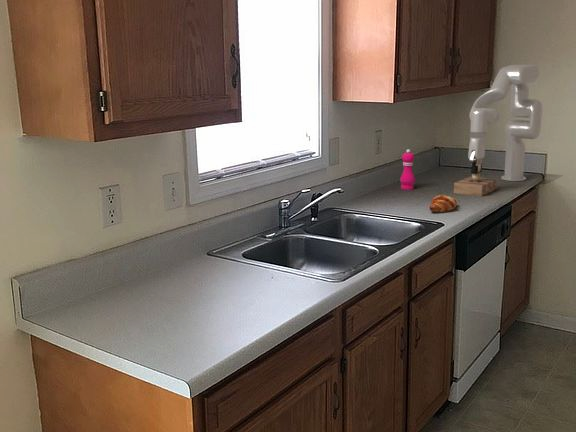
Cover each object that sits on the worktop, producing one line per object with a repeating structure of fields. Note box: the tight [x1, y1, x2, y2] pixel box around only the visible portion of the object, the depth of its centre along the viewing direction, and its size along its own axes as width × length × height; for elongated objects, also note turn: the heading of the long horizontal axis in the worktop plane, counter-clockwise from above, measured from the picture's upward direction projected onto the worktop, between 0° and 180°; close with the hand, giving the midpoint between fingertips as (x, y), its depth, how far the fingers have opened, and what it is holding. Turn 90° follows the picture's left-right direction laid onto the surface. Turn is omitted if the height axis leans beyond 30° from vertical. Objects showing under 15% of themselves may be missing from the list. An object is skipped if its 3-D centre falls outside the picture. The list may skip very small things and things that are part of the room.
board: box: [453, 176, 498, 197], centre depth 318 cm, size 20×14×5 cm
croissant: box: [429, 194, 458, 213], centre depth 282 cm, size 21×10×8 cm, turn 138°
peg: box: [471, 158, 481, 181], centre depth 316 cm, size 4×4×12 cm
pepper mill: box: [399, 149, 416, 191], centre depth 326 cm, size 7×7×20 cm
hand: (476, 172), depth 317 cm, fingers closed on peg, 4 cm apart
